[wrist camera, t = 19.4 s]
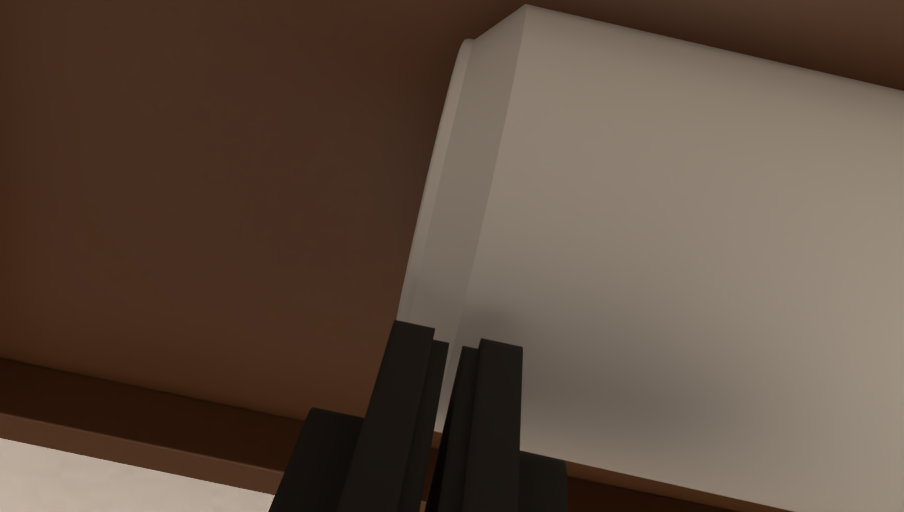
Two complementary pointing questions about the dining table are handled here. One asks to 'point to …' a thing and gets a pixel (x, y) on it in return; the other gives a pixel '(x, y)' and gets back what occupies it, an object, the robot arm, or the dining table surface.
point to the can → (675, 259)
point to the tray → (269, 209)
